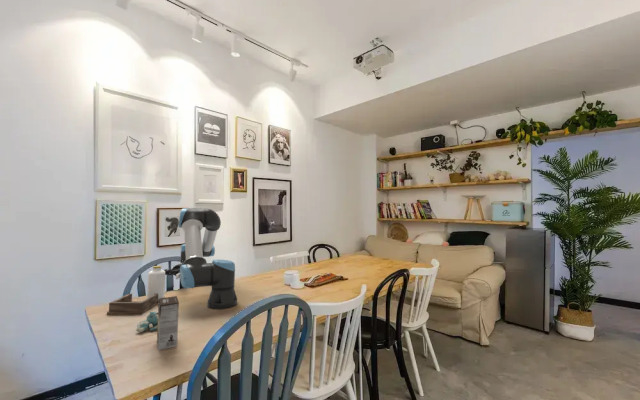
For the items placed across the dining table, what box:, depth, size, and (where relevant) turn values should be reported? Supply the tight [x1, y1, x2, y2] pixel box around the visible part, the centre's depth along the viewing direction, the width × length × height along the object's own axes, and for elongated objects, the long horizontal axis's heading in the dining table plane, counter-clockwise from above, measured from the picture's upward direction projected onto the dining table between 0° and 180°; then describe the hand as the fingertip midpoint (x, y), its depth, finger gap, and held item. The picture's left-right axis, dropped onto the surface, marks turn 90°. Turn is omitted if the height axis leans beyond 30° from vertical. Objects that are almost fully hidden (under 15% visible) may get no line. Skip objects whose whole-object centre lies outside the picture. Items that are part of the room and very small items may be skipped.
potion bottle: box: [146, 265, 166, 301], centre depth 158 cm, size 8×8×18 cm
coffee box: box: [156, 295, 180, 351], centre depth 106 cm, size 9×6×16 cm
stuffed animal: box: [135, 310, 158, 333], centre depth 119 cm, size 11×7×12 cm
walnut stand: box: [106, 293, 159, 315], centre depth 142 cm, size 16×16×5 cm
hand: (164, 276), depth 167 cm, fingers open, 13 cm apart
